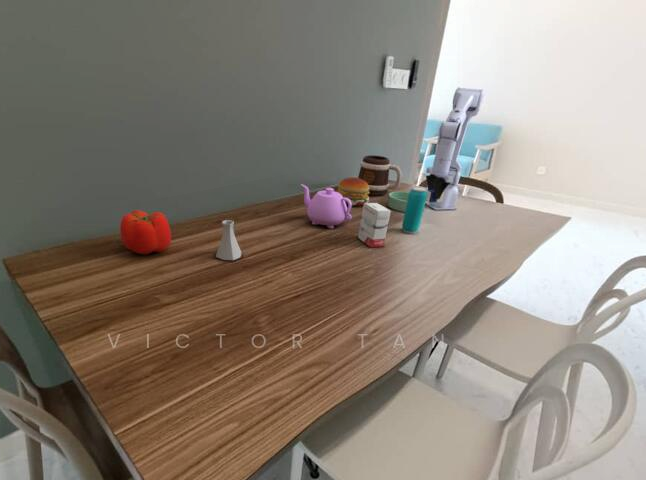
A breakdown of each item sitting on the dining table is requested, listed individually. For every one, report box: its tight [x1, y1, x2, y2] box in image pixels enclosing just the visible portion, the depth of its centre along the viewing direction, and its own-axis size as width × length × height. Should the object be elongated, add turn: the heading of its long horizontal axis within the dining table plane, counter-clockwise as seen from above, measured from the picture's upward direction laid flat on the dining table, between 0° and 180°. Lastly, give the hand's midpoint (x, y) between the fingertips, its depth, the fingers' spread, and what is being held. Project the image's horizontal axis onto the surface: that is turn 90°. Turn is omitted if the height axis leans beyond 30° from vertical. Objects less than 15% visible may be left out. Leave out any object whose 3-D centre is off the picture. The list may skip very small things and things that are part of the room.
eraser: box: [426, 189, 444, 203], centre depth 145 cm, size 6×4×4 cm, turn 102°
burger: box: [337, 177, 370, 206], centre depth 160 cm, size 13×14×10 cm
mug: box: [357, 154, 403, 197], centre depth 174 cm, size 20×15×15 cm
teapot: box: [300, 183, 353, 229], centre depth 137 cm, size 20×14×12 cm
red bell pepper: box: [119, 210, 172, 256], centre depth 109 cm, size 14×13×10 cm
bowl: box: [387, 191, 410, 213], centre depth 160 cm, size 14×14×4 cm
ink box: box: [358, 202, 392, 248], centre depth 123 cm, size 8×5×12 cm, turn 20°
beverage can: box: [401, 185, 428, 235], centre depth 133 cm, size 6×6×15 cm
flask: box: [215, 219, 242, 261], centre depth 109 cm, size 7×7×10 cm
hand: (433, 197), depth 145 cm, fingers closed on eraser, 3 cm apart
